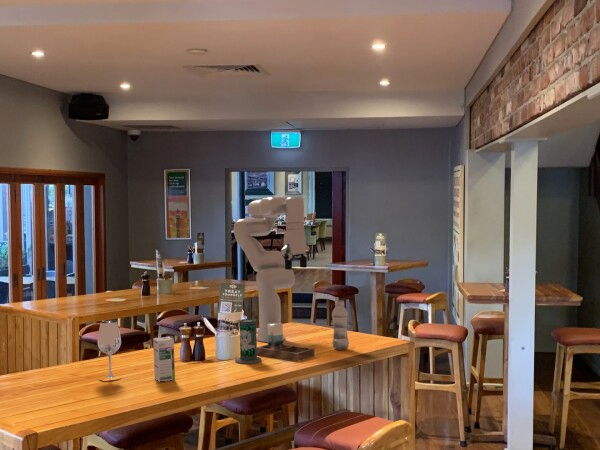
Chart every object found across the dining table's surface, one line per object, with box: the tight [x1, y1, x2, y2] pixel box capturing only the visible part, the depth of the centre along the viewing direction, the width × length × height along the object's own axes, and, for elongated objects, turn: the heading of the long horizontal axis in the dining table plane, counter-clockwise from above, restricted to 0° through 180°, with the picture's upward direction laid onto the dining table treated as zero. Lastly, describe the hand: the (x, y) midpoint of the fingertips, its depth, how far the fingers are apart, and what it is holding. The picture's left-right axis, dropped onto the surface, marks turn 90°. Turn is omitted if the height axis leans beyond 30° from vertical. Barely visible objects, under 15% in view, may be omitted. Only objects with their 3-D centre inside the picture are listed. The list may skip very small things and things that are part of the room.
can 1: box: [239, 318, 258, 361], centre depth 260 cm, size 6×6×15 cm
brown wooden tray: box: [257, 343, 316, 363], centre depth 268 cm, size 21×11×3 cm, turn 52°
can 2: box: [267, 322, 284, 350], centre depth 271 cm, size 6×6×12 cm
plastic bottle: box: [331, 299, 350, 351], centre depth 277 cm, size 6×7×20 cm
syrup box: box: [152, 336, 176, 383], centre depth 234 cm, size 6×6×14 cm
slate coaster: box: [234, 356, 262, 365], centre depth 260 cm, size 10×10×1 cm
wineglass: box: [97, 320, 122, 378], centre depth 237 cm, size 8×8×20 cm
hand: (296, 268), depth 280 cm, fingers open, 9 cm apart
